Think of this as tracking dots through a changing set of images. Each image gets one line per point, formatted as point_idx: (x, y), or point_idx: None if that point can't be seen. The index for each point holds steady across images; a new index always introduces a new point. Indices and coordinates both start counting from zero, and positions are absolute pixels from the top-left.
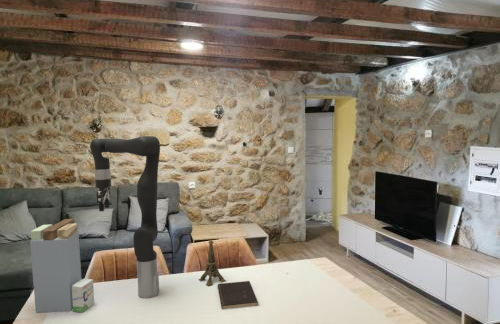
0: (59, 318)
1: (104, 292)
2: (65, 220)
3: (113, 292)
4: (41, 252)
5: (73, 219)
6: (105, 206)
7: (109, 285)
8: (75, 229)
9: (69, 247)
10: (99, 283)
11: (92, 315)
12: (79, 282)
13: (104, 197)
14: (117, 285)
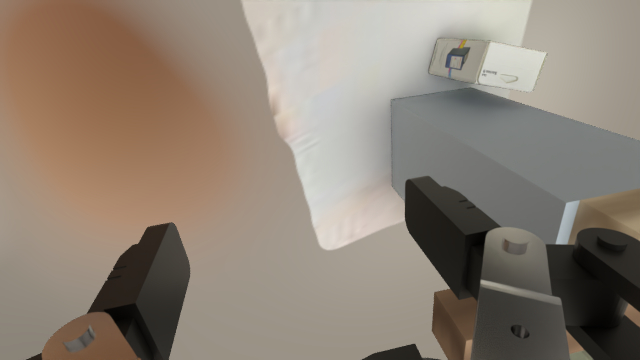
0: (503, 97)
1: (358, 43)
2: None
3: (360, 6)
4: None
5: (465, 335)
6: (185, 274)
7: (301, 51)
8: (631, 207)
9: (638, 153)
10: (285, 99)
11: (510, 6)
12: (505, 82)
13: (558, 330)
14: (300, 17)
